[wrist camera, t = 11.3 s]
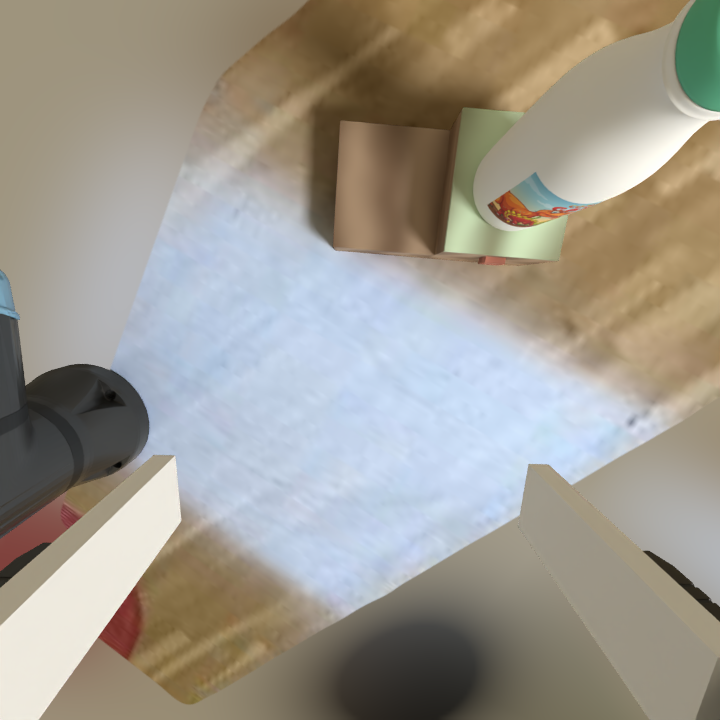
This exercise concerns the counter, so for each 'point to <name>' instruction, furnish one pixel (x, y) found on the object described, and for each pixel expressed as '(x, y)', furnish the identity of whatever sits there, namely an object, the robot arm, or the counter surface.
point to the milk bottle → (605, 123)
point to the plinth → (429, 194)
